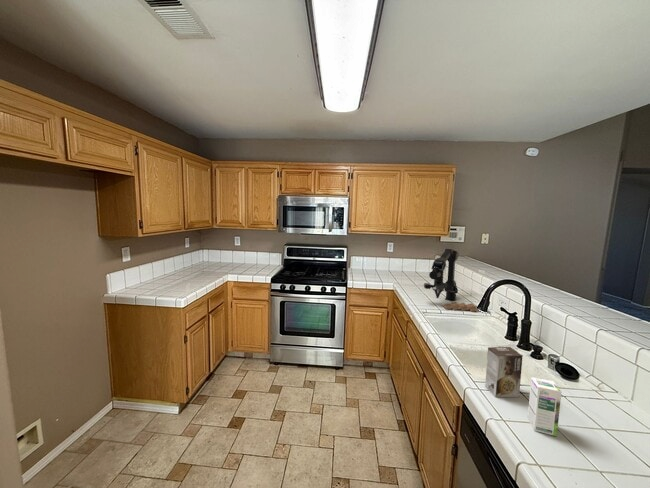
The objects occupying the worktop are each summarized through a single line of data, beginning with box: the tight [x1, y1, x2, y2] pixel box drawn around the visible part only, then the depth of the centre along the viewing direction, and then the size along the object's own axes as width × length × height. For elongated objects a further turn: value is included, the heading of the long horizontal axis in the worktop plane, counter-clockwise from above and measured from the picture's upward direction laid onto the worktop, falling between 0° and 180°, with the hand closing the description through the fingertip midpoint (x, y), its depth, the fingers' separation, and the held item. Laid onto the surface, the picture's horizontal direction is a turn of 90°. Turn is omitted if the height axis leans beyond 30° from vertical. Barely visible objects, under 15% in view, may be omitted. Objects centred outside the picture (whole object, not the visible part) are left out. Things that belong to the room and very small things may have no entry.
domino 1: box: [443, 301, 459, 311], centre depth 188 cm, size 2×5×9 cm
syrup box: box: [527, 377, 562, 437], centre depth 81 cm, size 6×6×14 cm
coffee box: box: [484, 346, 523, 398], centre depth 98 cm, size 9×6×16 cm
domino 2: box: [451, 302, 467, 311], centre depth 187 cm, size 2×5×9 cm
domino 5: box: [474, 309, 491, 315], centre depth 184 cm, size 2×5×9 cm
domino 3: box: [460, 302, 476, 312], centre depth 186 cm, size 2×5×9 cm
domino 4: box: [468, 305, 478, 313], centre depth 184 cm, size 2×5×9 cm
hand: (437, 298), depth 190 cm, fingers closed
